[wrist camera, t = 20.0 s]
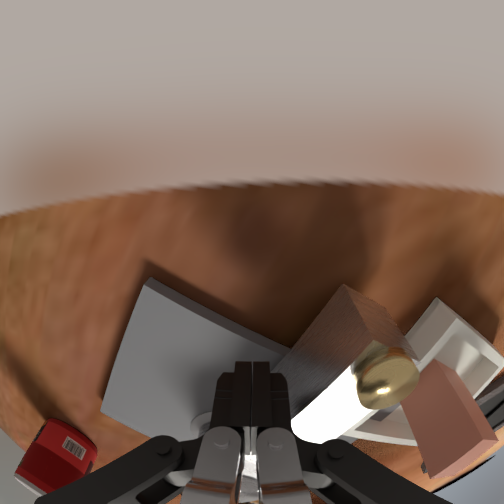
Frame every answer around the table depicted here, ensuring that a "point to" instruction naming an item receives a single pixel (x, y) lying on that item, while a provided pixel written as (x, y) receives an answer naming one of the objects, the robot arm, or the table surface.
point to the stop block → (446, 421)
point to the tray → (445, 351)
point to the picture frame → (490, 406)
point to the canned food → (55, 458)
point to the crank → (341, 372)
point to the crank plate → (180, 364)
